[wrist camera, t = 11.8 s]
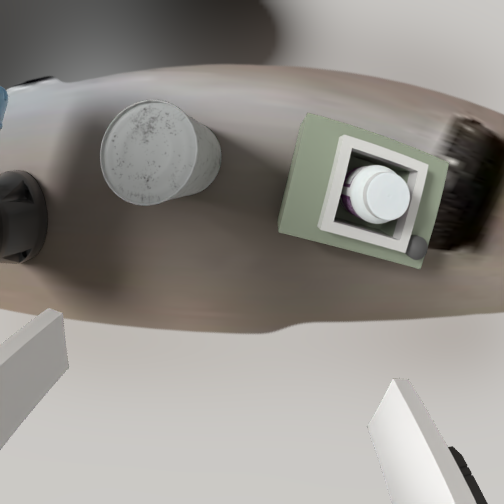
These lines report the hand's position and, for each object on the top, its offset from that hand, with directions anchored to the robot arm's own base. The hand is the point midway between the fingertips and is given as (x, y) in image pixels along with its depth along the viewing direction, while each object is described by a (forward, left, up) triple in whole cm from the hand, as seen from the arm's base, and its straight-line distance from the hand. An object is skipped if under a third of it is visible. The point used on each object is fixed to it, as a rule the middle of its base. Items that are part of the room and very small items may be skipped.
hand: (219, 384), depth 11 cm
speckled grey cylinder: (-11, +7, -29) cm, 32 cm away
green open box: (+10, +8, -29) cm, 32 cm away
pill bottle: (+10, +8, -25) cm, 28 cm away
